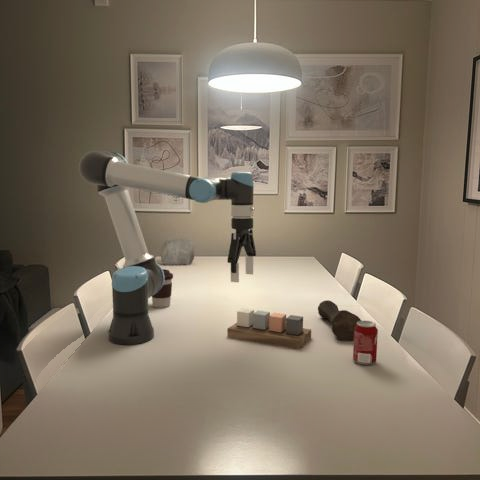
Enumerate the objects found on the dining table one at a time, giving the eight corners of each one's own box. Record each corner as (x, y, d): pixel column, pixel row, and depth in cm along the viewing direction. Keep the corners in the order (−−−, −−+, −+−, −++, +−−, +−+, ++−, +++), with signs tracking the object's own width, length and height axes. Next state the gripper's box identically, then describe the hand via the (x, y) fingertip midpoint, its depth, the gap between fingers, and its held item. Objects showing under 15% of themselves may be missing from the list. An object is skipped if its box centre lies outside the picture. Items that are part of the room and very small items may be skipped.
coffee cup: (168, 309, 199) (168, 273, 197) (145, 308, 201) (145, 272, 199) (176, 303, 209) (176, 268, 207) (154, 301, 211) (154, 267, 209)
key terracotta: (281, 332, 163) (281, 317, 162) (269, 330, 164) (269, 316, 164) (286, 328, 167) (286, 314, 166) (273, 326, 168) (274, 312, 168)
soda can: (372, 368, 142) (374, 328, 140) (349, 363, 145) (351, 324, 144) (379, 360, 147) (380, 322, 146) (357, 356, 151) (358, 318, 149)
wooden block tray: (299, 349, 156) (300, 340, 156) (227, 336, 167) (227, 328, 167) (311, 337, 167) (311, 329, 167) (242, 326, 178) (242, 318, 178)
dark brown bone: (356, 348, 163) (330, 331, 191) (370, 320, 164) (342, 307, 192) (328, 334, 162) (306, 318, 190) (343, 306, 162) (318, 294, 190)
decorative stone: (159, 265, 290) (163, 262, 300) (192, 266, 289) (195, 262, 299) (158, 238, 288) (162, 235, 298) (192, 238, 287) (194, 235, 297)
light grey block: (264, 329, 165) (264, 315, 164) (252, 327, 167) (253, 313, 166) (269, 326, 169) (269, 312, 168) (257, 324, 171) (258, 310, 170)
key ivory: (248, 327, 168) (248, 313, 167) (237, 325, 170) (237, 311, 169) (253, 323, 172) (253, 309, 171) (242, 321, 174) (242, 308, 173)
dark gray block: (298, 335, 160) (298, 320, 159) (285, 333, 162) (286, 318, 161) (302, 331, 164) (303, 316, 163) (290, 329, 166) (290, 314, 165)
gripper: (238, 221, 155) (238, 286, 158) (264, 214, 178) (264, 271, 181) (217, 220, 158) (217, 284, 161) (245, 213, 180) (245, 270, 183)
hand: (242, 277), depth 171 cm, fingers open, 13 cm apart
